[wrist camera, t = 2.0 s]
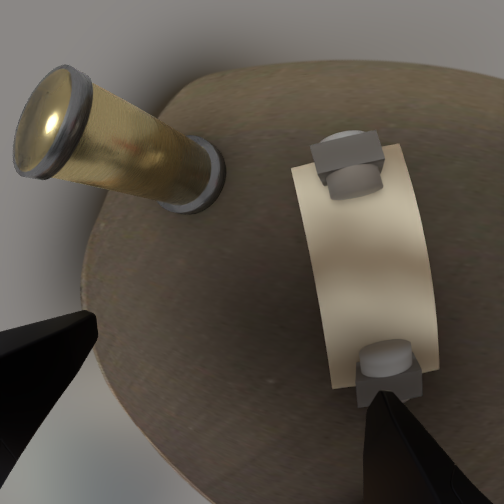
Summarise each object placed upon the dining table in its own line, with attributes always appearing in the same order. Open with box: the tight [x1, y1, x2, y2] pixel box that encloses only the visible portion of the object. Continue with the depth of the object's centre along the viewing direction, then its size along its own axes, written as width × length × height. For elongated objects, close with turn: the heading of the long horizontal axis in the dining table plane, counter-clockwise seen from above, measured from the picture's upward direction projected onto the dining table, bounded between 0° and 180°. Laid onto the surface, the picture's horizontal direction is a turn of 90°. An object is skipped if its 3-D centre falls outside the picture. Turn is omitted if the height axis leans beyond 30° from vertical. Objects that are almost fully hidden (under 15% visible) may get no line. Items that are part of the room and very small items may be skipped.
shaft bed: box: [291, 130, 439, 408], centre depth 16 cm, size 15×7×4 cm, turn 11°
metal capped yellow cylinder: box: [13, 65, 226, 214], centre depth 15 cm, size 6×6×13 cm
